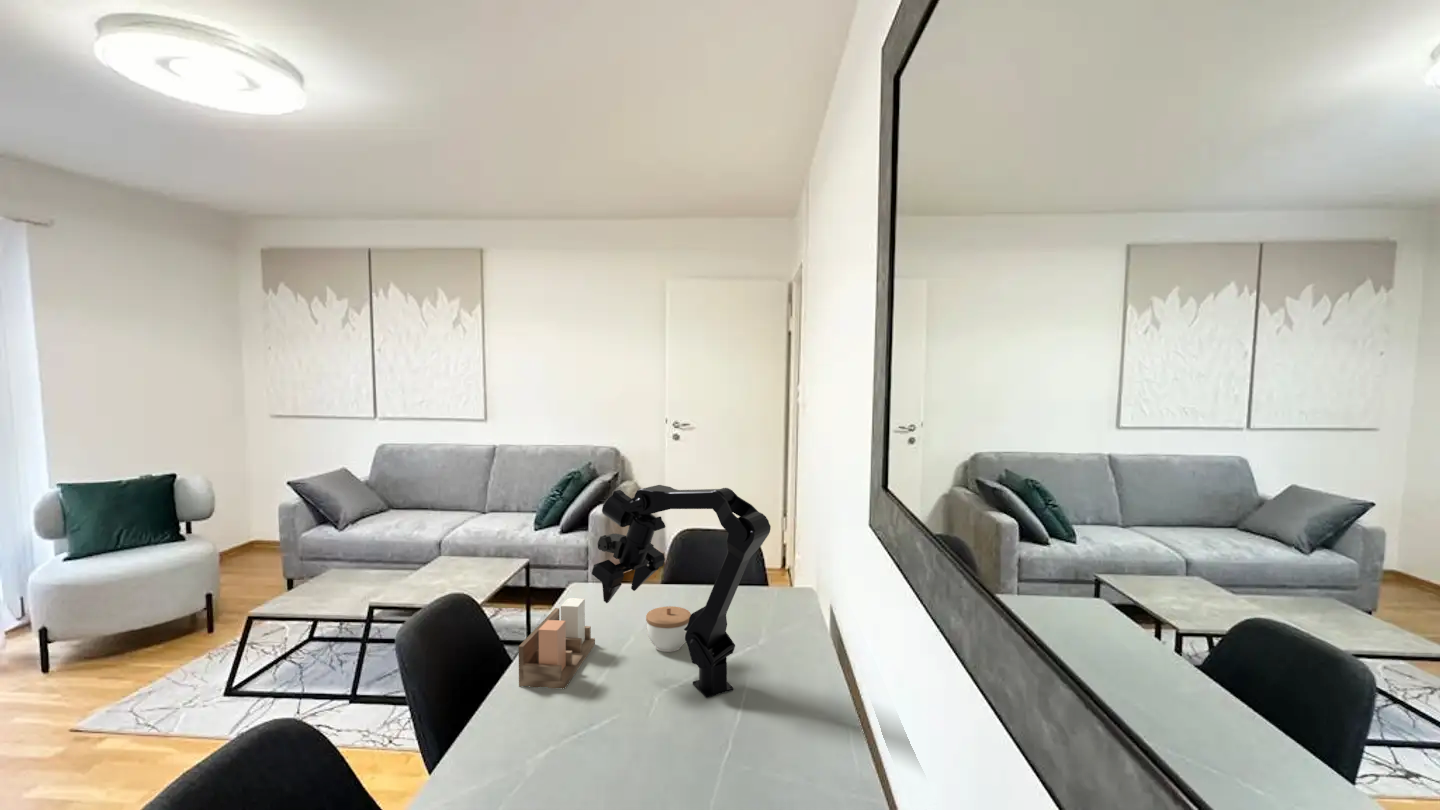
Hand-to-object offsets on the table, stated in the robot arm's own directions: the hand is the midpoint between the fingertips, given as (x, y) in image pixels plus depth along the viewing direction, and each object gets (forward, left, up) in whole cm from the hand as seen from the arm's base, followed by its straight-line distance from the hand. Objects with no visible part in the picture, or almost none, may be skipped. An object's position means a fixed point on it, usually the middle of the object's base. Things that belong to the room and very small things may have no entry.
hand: (619, 595), depth 139 cm
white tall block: (+7, +9, -12) cm, 17 cm away
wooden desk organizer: (+3, +13, -14) cm, 19 cm away
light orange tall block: (-3, +16, -12) cm, 21 cm away
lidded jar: (-1, -12, -14) cm, 19 cm away
